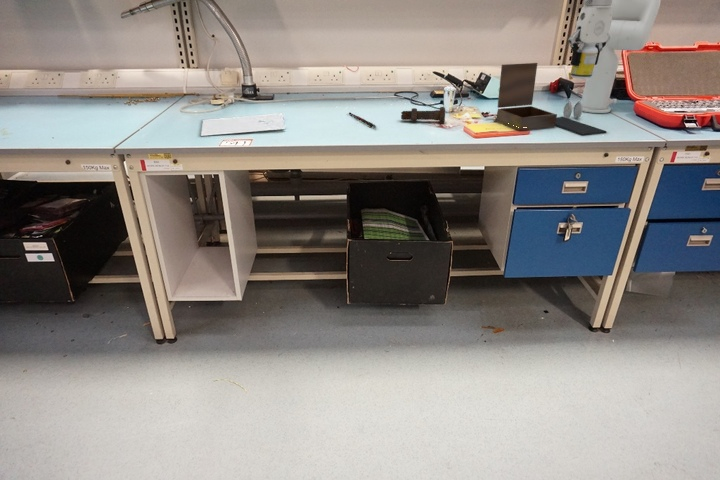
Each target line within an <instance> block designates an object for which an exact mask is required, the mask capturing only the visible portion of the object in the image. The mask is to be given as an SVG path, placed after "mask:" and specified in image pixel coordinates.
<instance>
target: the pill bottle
mask: <svg viewBox="0 0 720 480" xmlns="http://www.w3.org/2000/svg"><path fill="white" fill-rule="evenodd" d="M596 44H597V43H585V44H584V46H583V48H582V50H581V51H580V52H582V55H581V59H580V64H579V66H574V65H571V70H570V75H569V76H570V77H571V78H572V79H580V80H586V79H589V78H591V77H592V73H593V69H594V65H595V61H596V57H597V53H598V49H597V48H596V47H595V45H596Z"/></svg>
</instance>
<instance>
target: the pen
mask: <svg viewBox="0 0 720 480" xmlns="http://www.w3.org/2000/svg"><path fill="white" fill-rule="evenodd" d="M348 114H349V115H351V116H353V117H354V118H356V119H357V120H358V121H360V122H362V123H364V124H365V125H367V126H369V127H370V128H373V129H376V128H377V125H376V124H373V122H371V121H368V120H366V119H365V118H362V117H360V116H358V115H356V114H354V113H352V112H348Z"/></svg>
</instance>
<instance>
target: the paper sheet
mask: <svg viewBox="0 0 720 480" xmlns="http://www.w3.org/2000/svg"><path fill="white" fill-rule="evenodd" d="M285 129H286V126H285V120H284V115H283V113H282V112H278V113H268V114H254V115H245V116H244V115H243V116H233V117H221V118H220V117H219V118H209V119H202V124H201V131H200V136H201V137H203V136H205V137H206V136H218V135H229V134H239V133H240V134H241V133H252V132H253V133H254V132H264V131H275V130H276V131H277V130H285Z"/></svg>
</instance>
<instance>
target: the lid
mask: <svg viewBox="0 0 720 480" xmlns="http://www.w3.org/2000/svg"><path fill="white" fill-rule="evenodd" d="M537 70H538V62H527V63H507V64H505V63H504V64H501V69H500V78H499V89H498V98H497V109H502V108H514V107H526V106H532V105H533V101H534V94H535V86H536V77H537Z"/></svg>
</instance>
